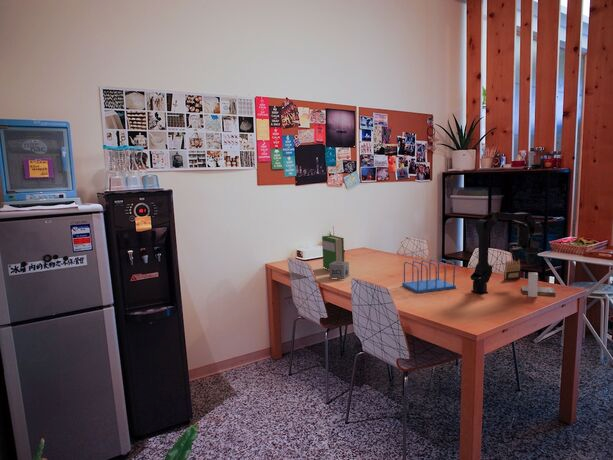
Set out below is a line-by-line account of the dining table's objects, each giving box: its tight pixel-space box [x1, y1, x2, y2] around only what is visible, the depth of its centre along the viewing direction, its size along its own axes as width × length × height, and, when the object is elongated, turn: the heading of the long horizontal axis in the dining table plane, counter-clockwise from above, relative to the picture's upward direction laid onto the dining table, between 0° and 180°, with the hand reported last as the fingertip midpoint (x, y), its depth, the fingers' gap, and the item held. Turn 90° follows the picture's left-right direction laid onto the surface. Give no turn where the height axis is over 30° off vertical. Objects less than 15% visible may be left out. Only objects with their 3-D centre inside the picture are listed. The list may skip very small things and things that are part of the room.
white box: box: [527, 271, 539, 298], centre depth 214 cm, size 4×13×12 cm, turn 155°
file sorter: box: [401, 258, 457, 294], centre depth 235 cm, size 25×17×15 cm
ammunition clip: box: [503, 258, 522, 281], centre depth 246 cm, size 11×2×12 cm, turn 106°
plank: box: [520, 285, 556, 297], centre depth 216 cm, size 15×10×2 cm, turn 65°
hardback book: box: [321, 235, 345, 269], centre depth 289 cm, size 18×7×24 cm, turn 26°
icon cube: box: [328, 261, 350, 280], centre depth 266 cm, size 10×10×10 cm
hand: (522, 263), depth 226 cm, fingers open, 9 cm apart
